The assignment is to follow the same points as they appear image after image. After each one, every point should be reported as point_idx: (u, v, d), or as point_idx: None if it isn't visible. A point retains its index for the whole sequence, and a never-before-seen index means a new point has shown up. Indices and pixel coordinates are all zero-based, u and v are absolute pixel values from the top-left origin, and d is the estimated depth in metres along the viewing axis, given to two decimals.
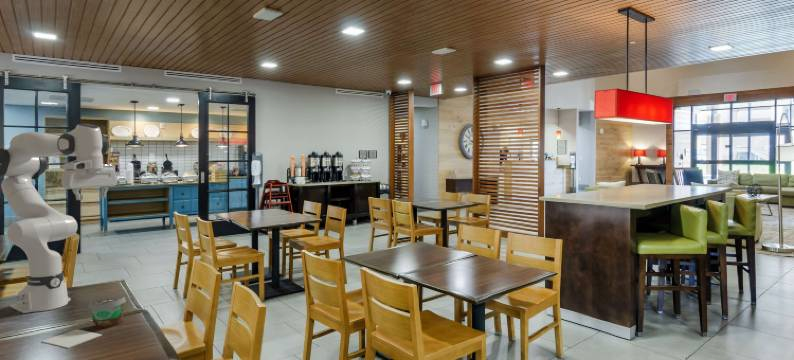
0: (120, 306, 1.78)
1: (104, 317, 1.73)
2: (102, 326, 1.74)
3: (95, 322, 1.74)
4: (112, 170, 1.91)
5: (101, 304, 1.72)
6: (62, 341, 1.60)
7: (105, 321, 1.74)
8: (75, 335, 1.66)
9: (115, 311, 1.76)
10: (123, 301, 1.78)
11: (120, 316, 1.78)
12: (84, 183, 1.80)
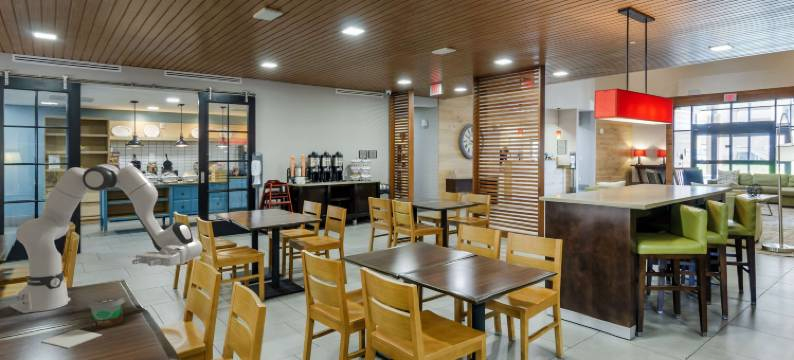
0: (120, 306, 1.78)
1: (104, 317, 1.73)
2: (102, 326, 1.74)
3: (95, 322, 1.74)
4: None
5: (101, 304, 1.72)
6: (62, 341, 1.60)
7: (105, 321, 1.74)
8: (75, 335, 1.66)
9: (115, 311, 1.76)
10: (123, 301, 1.78)
11: (120, 316, 1.78)
12: None
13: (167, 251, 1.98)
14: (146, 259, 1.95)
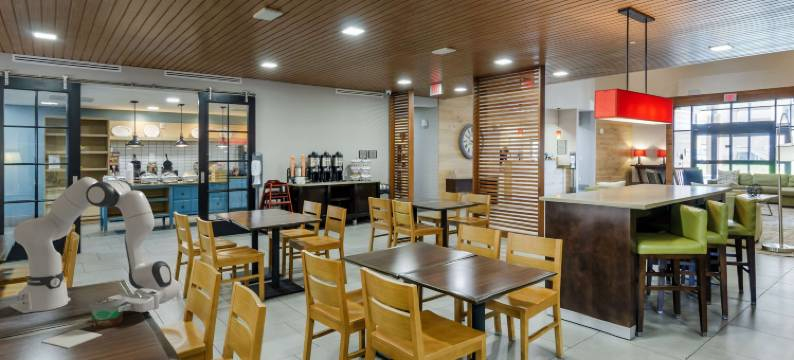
0: (120, 306, 1.78)
1: (104, 317, 1.73)
2: (102, 326, 1.74)
3: (95, 322, 1.74)
4: None
5: (101, 304, 1.72)
6: (62, 341, 1.60)
7: (105, 321, 1.74)
8: (75, 335, 1.66)
9: (115, 311, 1.76)
10: (123, 301, 1.78)
11: (120, 316, 1.78)
12: None
13: (141, 294, 1.87)
14: None
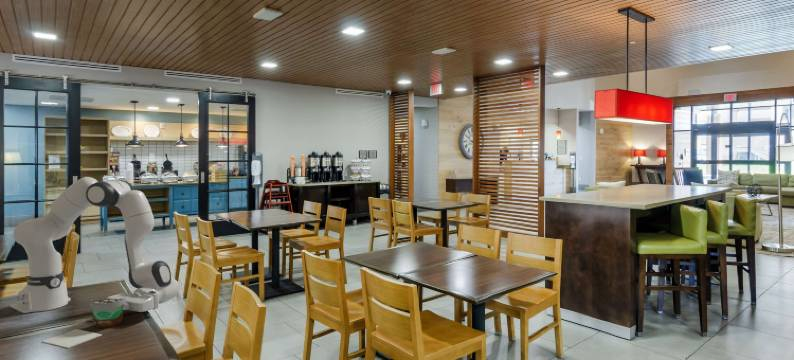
0: (121, 306, 1.77)
1: (105, 317, 1.73)
2: (102, 326, 1.74)
3: (95, 321, 1.74)
4: None
5: (102, 305, 1.72)
6: (62, 341, 1.60)
7: (105, 321, 1.73)
8: (75, 335, 1.66)
9: (115, 311, 1.75)
10: (124, 301, 1.78)
11: (120, 316, 1.78)
12: None
13: (140, 294, 1.87)
14: None
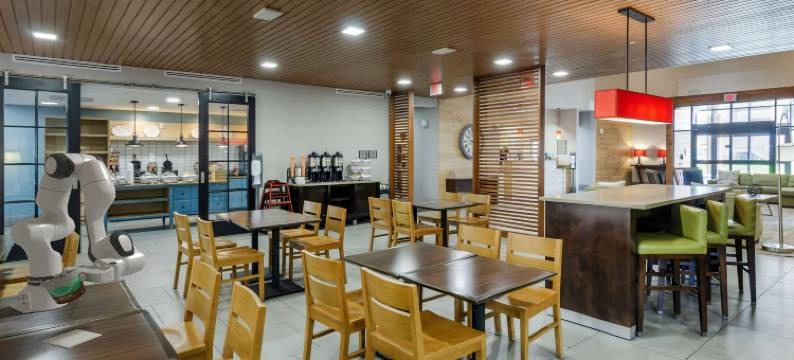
0: (77, 276, 1.61)
1: (64, 292, 1.58)
2: (66, 301, 1.59)
3: (55, 299, 1.59)
4: None
5: (55, 281, 1.55)
6: (62, 341, 1.60)
7: (67, 296, 1.59)
8: (75, 335, 1.66)
9: (73, 283, 1.60)
10: (79, 270, 1.62)
11: (82, 286, 1.63)
12: None
13: (100, 265, 1.71)
14: None
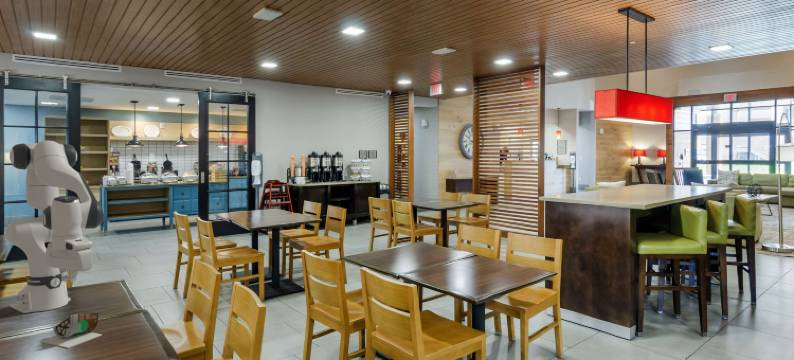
0: (79, 323, 1.63)
1: None
2: None
3: None
4: None
5: (63, 337, 1.62)
6: (62, 341, 1.60)
7: (84, 331, 1.68)
8: (75, 335, 1.66)
9: (80, 328, 1.64)
10: (75, 321, 1.61)
11: (90, 320, 1.67)
12: None
13: (63, 251, 1.59)
14: None
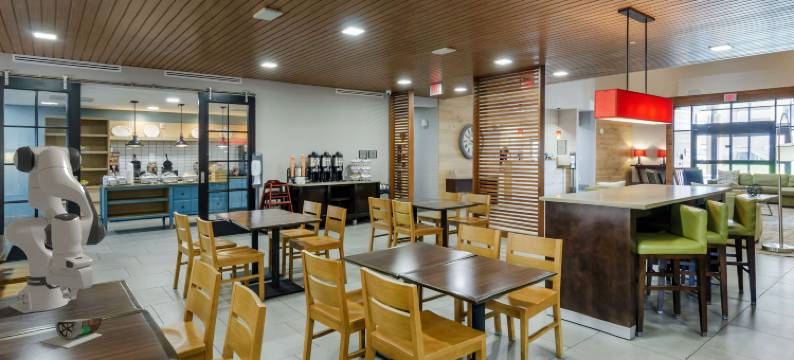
0: (82, 328, 1.62)
1: None
2: None
3: None
4: None
5: (63, 337, 1.62)
6: (62, 341, 1.60)
7: None
8: None
9: (81, 332, 1.64)
10: (79, 327, 1.61)
11: (93, 325, 1.66)
12: None
13: (64, 269, 1.59)
14: None
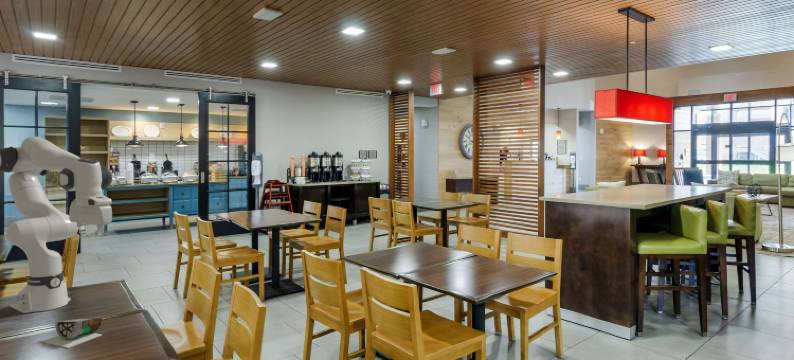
0: (82, 328, 1.62)
1: None
2: None
3: None
4: None
5: (63, 337, 1.62)
6: (62, 341, 1.60)
7: None
8: None
9: (81, 332, 1.64)
10: (79, 327, 1.61)
11: (93, 325, 1.66)
12: None
13: (86, 207, 1.77)
14: None
